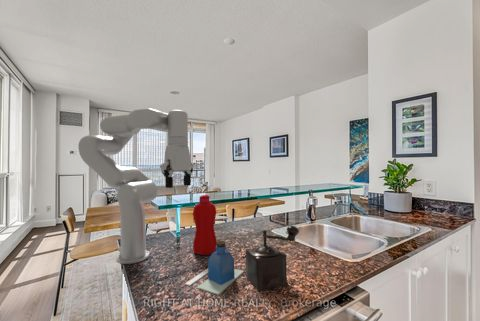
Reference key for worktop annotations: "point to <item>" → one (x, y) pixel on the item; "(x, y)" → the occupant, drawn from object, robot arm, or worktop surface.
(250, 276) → the dark brown coffee grinder
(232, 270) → the perfume bottle
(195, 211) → the water bottle
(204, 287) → the mat
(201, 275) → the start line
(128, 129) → the robot arm
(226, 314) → the worktop surface
